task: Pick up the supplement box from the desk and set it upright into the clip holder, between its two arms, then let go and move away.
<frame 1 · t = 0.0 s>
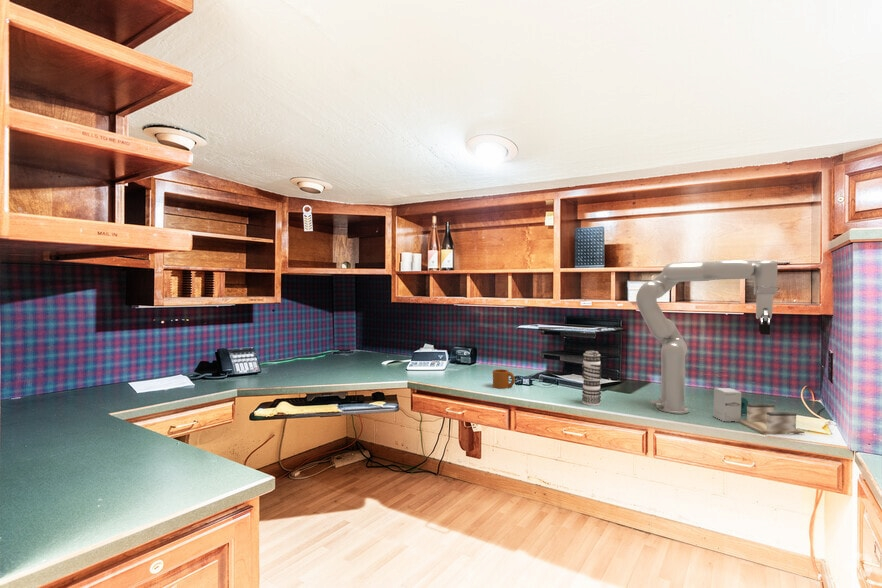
hand: (764, 333, 175), 37 cm above the countertop, tool pointing down, fingers open, 9 cm apart
supplement box: (726, 419, 182), on the countertop
bracket: (745, 412, 192), on the countertop
mug: (503, 387, 237), on the countertop
decorative candle: (591, 403, 206), on the countertop
clip holder: (770, 428, 171), on the countertop
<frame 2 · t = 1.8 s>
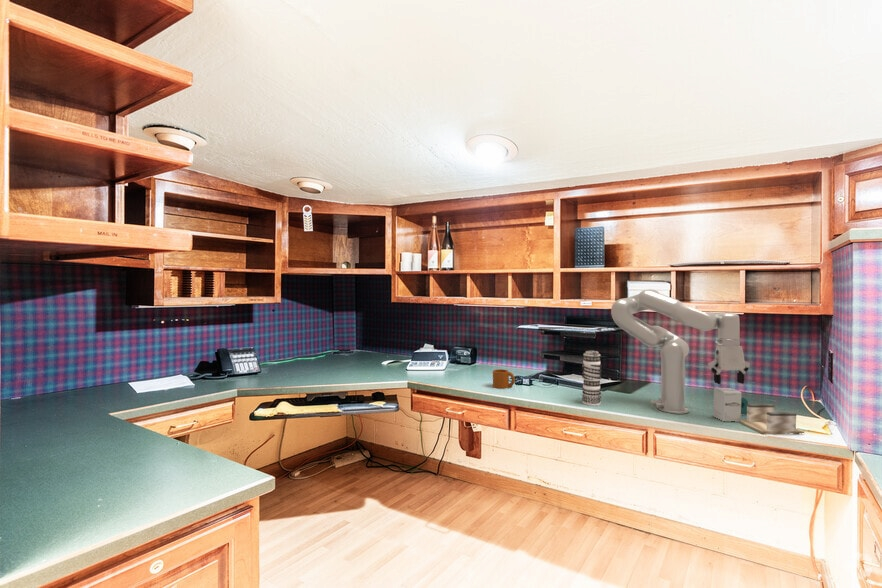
hand: (729, 383, 181), 15 cm above the countertop, tool pointing down, fingers open, 9 cm apart
nothing on the countertop moved.
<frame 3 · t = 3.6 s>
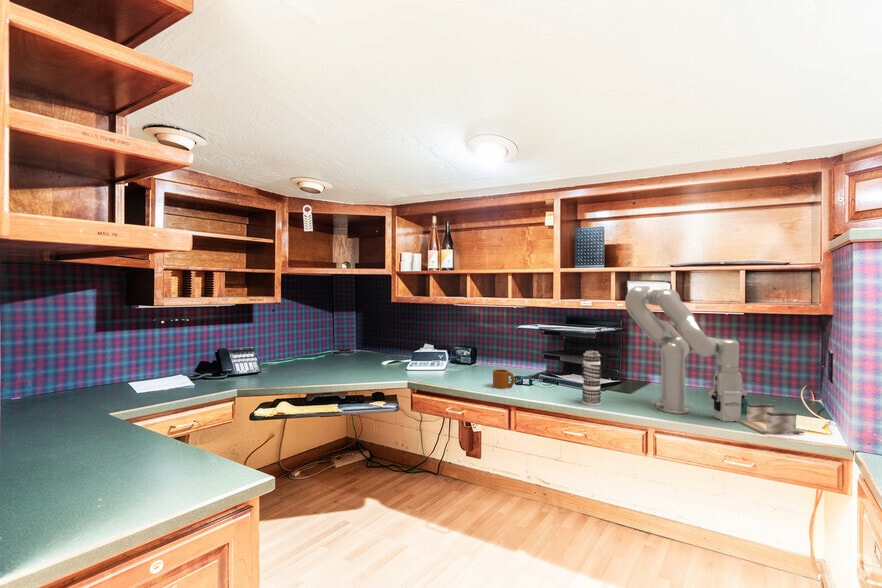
hand: (727, 410, 182), 4 cm above the countertop, tool pointing down, fingers closed on supplement box, 7 cm apart
supplement box: (726, 419, 182), on the countertop, touching gripper
everything else where it was.
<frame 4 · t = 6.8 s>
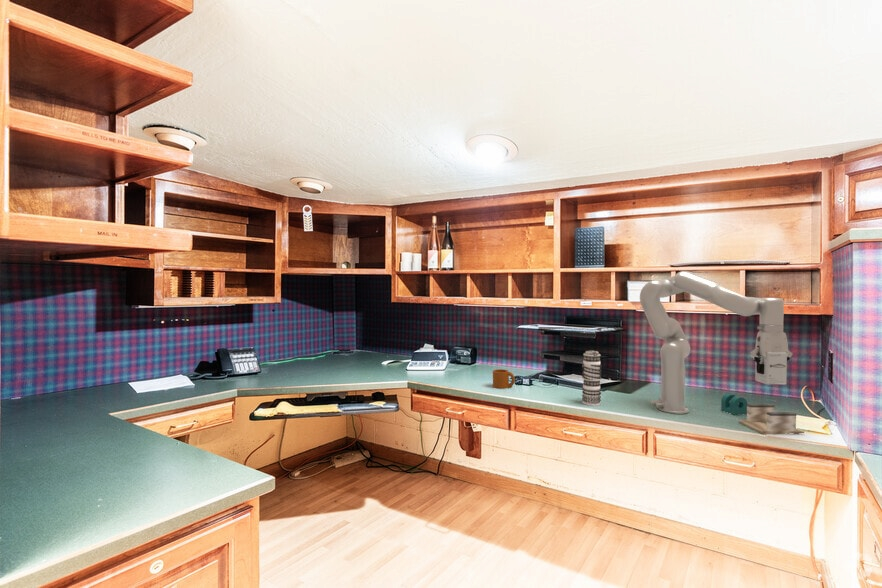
hand: (770, 373, 170), 22 cm above the countertop, tool pointing down, fingers closed on supplement box, 7 cm apart
supplement box: (770, 383, 170), point 18 cm above the countertop, touching gripper
everything else where it was.
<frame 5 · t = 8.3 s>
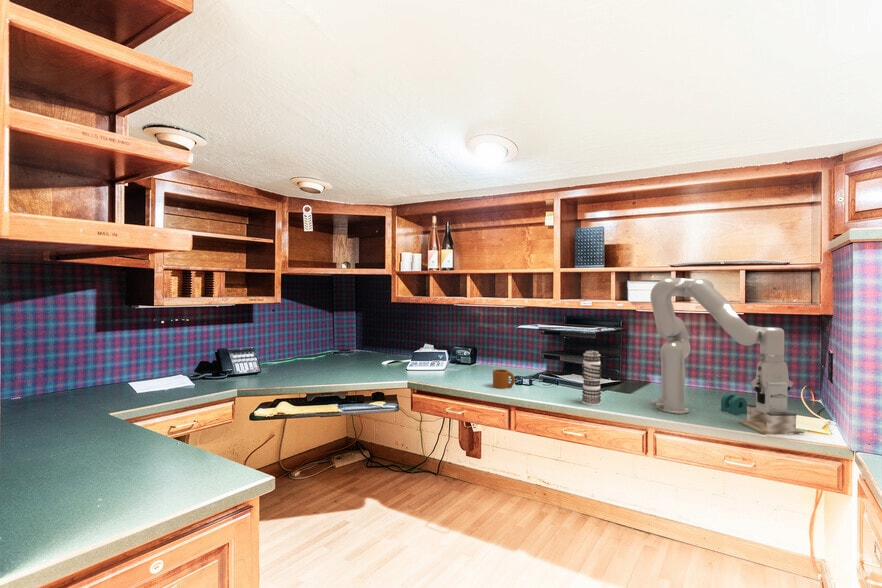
hand: (771, 402, 170), 10 cm above the countertop, tool pointing down, fingers closed on supplement box, 7 cm apart
supplement box: (771, 412, 170), point 6 cm above the countertop, touching gripper
everything else where it was.
when the fingers open (6 cm above the countertop, at t = 9.9 s): supplement box drops 1 cm, resting on clip holder.
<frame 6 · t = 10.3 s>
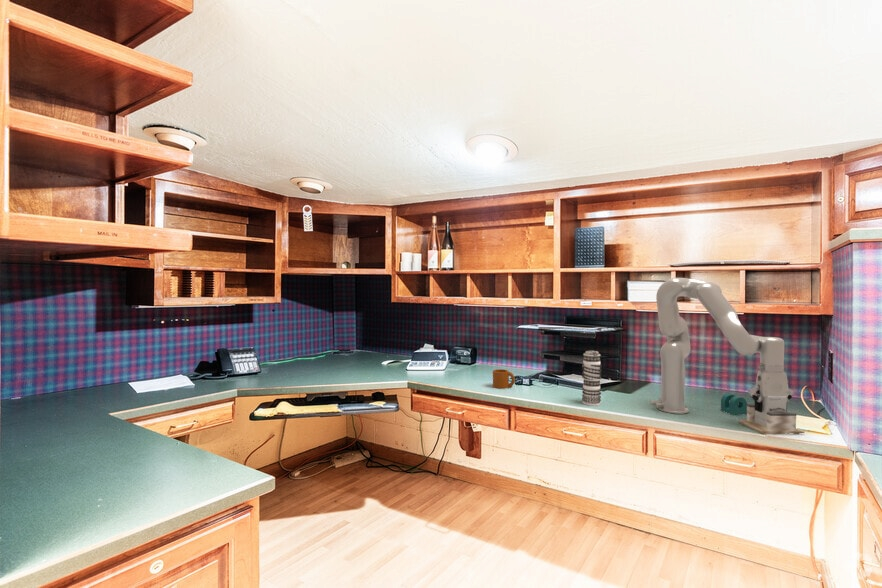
hand: (770, 411, 170), 7 cm above the countertop, tool pointing down, fingers open, 9 cm apart
supplement box: (769, 425, 171), point 1 cm above the countertop, touching clip holder
everything else where it was.
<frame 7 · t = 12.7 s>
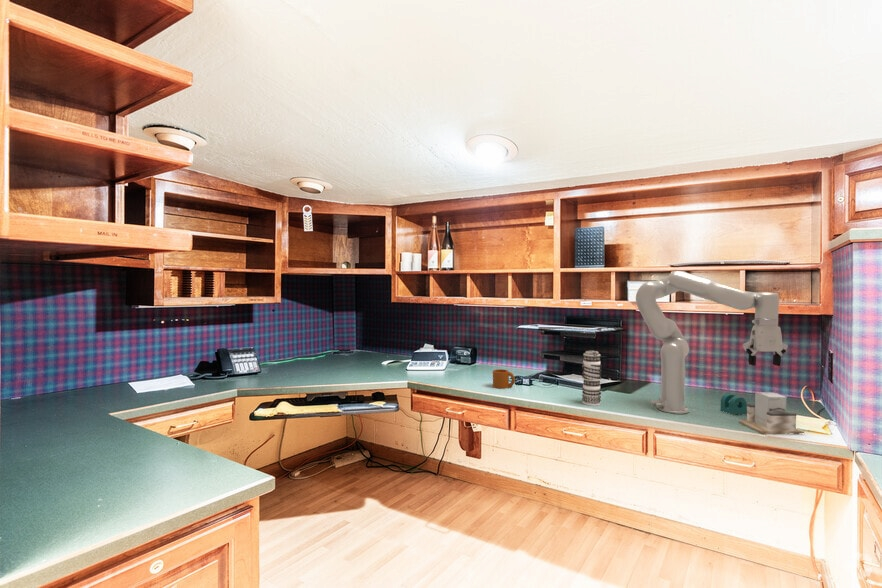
hand: (764, 365, 173), 25 cm above the countertop, tool pointing down, fingers open, 9 cm apart
nothing on the countertop moved.
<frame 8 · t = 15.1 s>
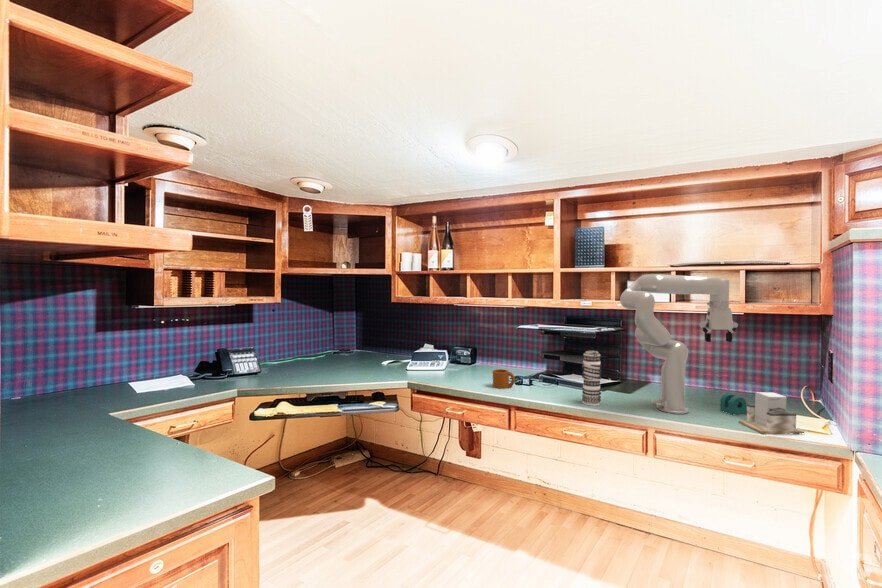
hand: (718, 341, 200), 30 cm above the countertop, tool pointing down, fingers open, 9 cm apart
nothing on the countertop moved.
at the end: supplement box 0.2 cm off-centre on the clip holder, point 0.8 cm above the clip holder's base; supplement box tilted 0°; the gripper is holding nothing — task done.
